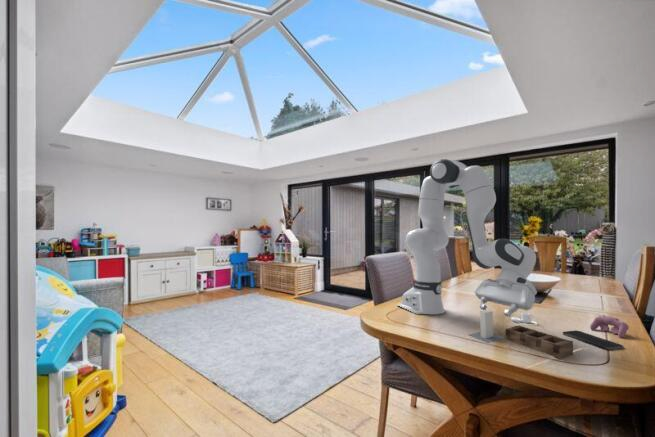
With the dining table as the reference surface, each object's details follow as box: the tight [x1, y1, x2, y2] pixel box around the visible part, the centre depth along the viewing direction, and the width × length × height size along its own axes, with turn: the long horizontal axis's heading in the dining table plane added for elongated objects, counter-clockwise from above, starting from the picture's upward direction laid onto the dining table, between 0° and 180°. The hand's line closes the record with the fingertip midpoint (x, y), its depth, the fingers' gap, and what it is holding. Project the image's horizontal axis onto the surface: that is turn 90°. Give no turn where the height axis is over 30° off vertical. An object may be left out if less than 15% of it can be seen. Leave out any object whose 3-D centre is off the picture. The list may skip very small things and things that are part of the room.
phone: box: [562, 330, 624, 351], centre depth 103 cm, size 8×1×15 cm
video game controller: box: [589, 315, 629, 339], centre depth 111 cm, size 10×5×7 cm, turn 22°
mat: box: [468, 331, 506, 344], centre depth 107 cm, size 8×10×1 cm
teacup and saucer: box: [511, 312, 538, 326], centre depth 123 cm, size 9×8×4 cm
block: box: [479, 309, 494, 338], centre depth 107 cm, size 2×4×9 cm, turn 116°
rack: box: [505, 325, 574, 360], centre depth 98 cm, size 17×8×4 cm, turn 26°
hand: (493, 312), depth 108 cm, fingers open, 8 cm apart
